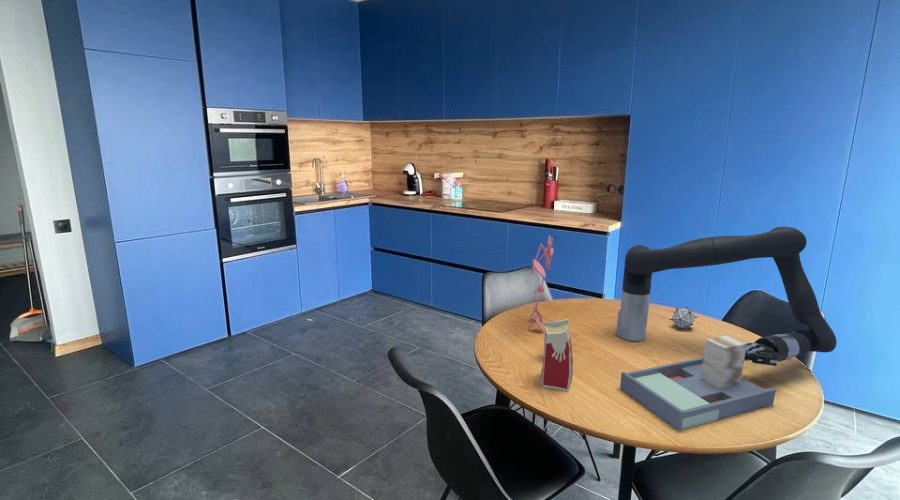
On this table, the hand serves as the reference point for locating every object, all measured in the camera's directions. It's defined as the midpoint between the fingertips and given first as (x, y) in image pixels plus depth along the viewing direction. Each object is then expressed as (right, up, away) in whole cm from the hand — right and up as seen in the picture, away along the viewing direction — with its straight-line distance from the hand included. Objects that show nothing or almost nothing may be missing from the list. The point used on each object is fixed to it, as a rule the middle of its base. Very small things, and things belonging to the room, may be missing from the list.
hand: (733, 357), depth 131 cm
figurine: (-44, +1, +45) cm, 63 cm away
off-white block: (-4, -7, 0) cm, 8 cm away
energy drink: (-47, -5, +20) cm, 51 cm away
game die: (+8, +1, +44) cm, 45 cm away
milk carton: (-49, -9, +5) cm, 50 cm away
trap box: (-12, -10, -2) cm, 16 cm away
